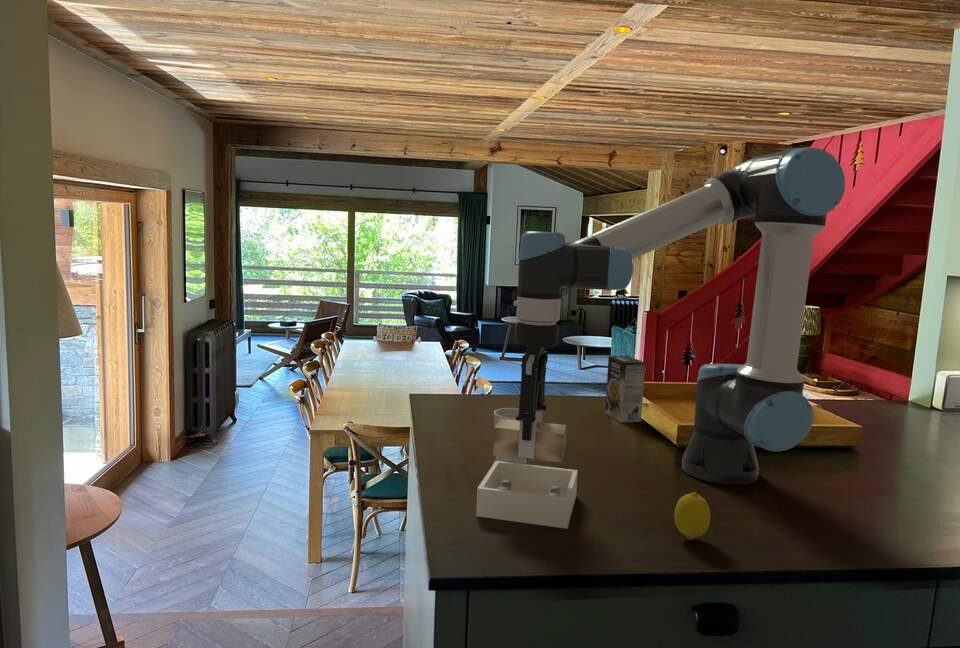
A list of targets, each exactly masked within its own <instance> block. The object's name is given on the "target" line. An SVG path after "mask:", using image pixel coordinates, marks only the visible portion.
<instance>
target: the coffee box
mask: <svg viewBox="0 0 960 648" xmlns="http://www.w3.org/2000/svg"><path fill="white" fill-rule="evenodd" d="M607 360H608V361H607V362H608V363H607V377H606V392H605V393H606V395H605V407H604V408H605V409H604V411H605V412H604V414H605V415H607V416H609V417H610V418H612V419H614V420H615V421H617V422H619V423H638V422H639V423H641V422H642V409H643V399H644V389H645V388H644V387H645V386H644V385H645V375H646V374H645V373H646V363H647V362H645V361H642V360H639V359H638V358H637V359H636V358H634V357H631V356H629V355H608V359H607Z"/></svg>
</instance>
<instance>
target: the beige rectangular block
mask: <svg viewBox="0 0 960 648" xmlns="http://www.w3.org/2000/svg"><path fill="white" fill-rule="evenodd" d="M519 431H520V421H517V420H508V419H500V420H499V421H498V423H497V424H496V426H495V427H494V430H493V453H492V454H493V456H495V457H496V456H504V457H513V458H523V457H518V448H519ZM566 438H567V424H561V423H552V422H551V423H550V422H542V423H540V422H536V437H535V453H534V459H531V458H523V459H527V460H535V461H543V462H553V463H554V462H555V463H563V461H564V457H565V454H566V453H565V452H566V441H567V439H566Z"/></svg>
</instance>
